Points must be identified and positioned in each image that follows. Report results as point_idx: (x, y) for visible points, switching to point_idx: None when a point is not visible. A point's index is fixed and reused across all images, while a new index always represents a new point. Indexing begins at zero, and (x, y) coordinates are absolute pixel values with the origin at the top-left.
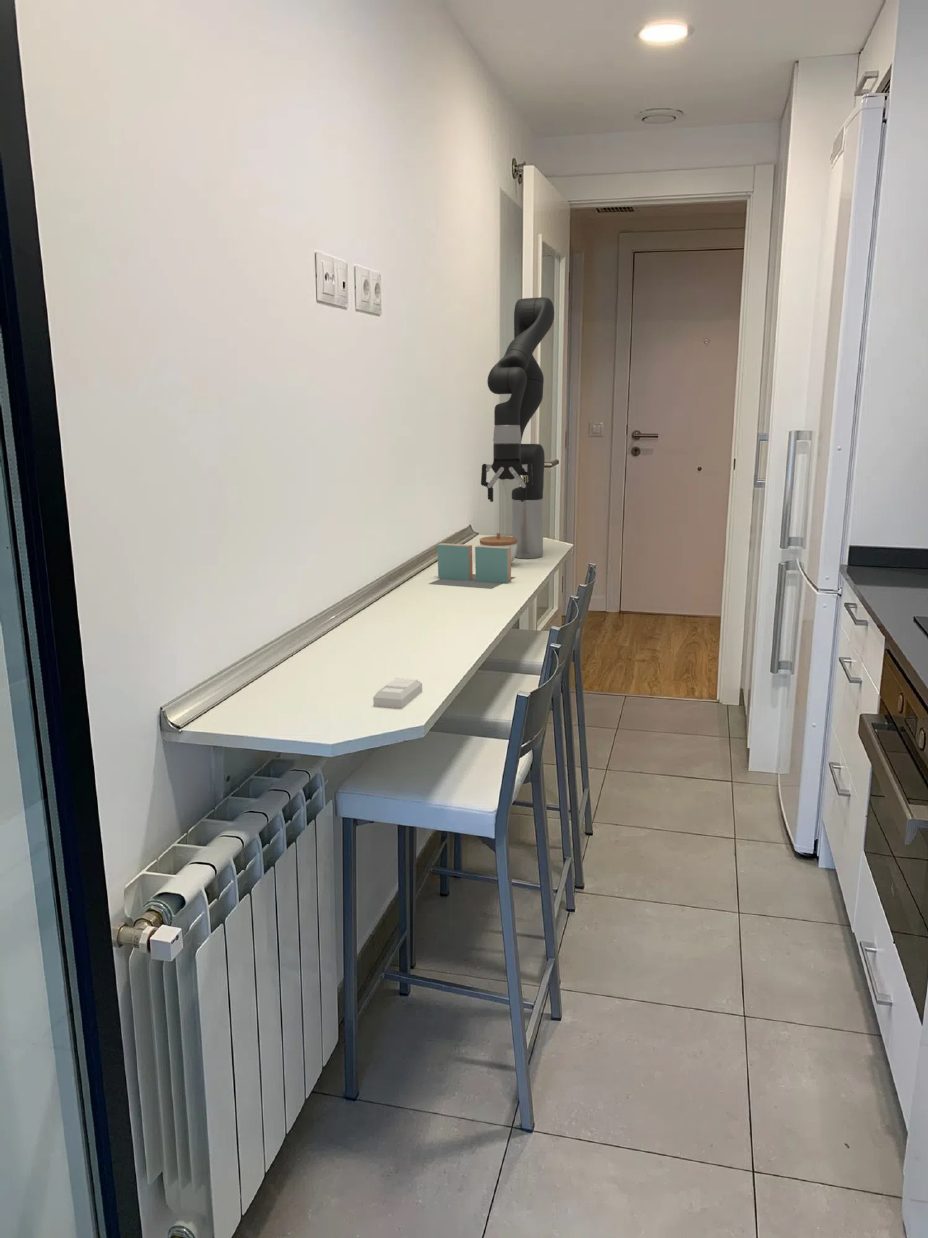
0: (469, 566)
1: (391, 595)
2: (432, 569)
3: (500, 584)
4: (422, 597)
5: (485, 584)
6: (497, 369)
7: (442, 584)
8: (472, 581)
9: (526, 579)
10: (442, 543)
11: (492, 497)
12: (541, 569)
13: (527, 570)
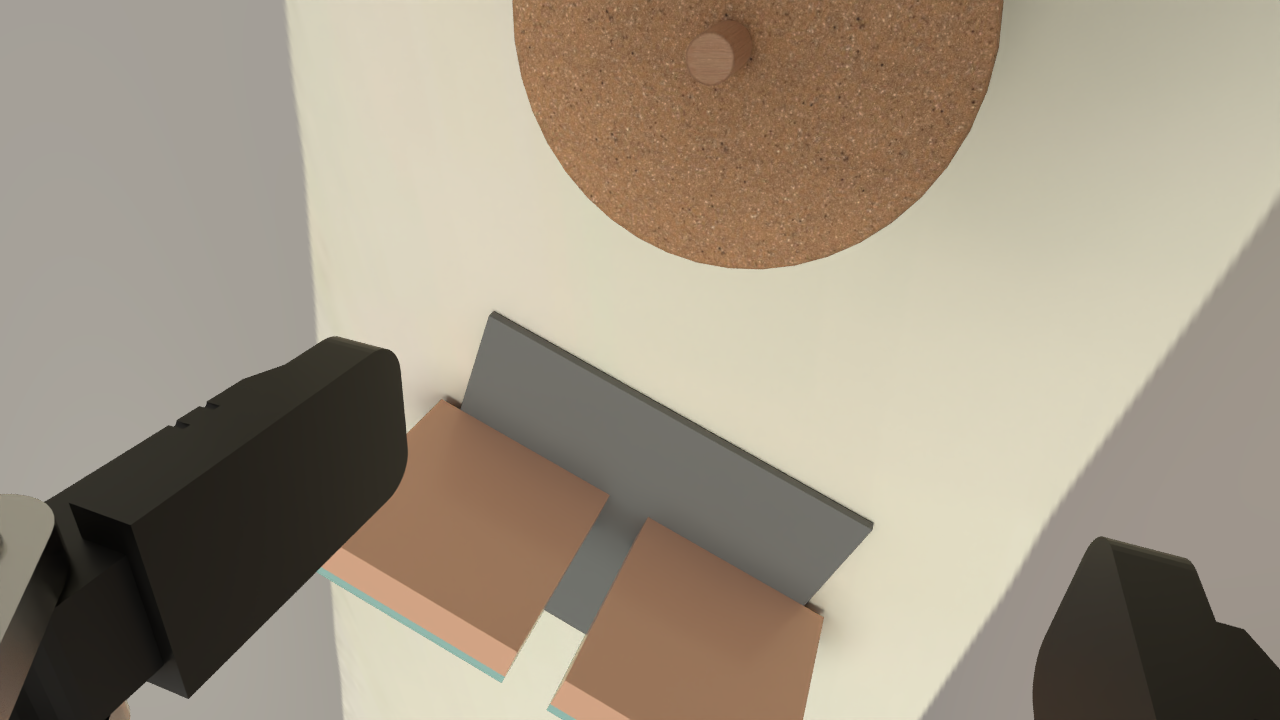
0: (565, 572)
1: (350, 634)
2: (320, 116)
3: None
4: (460, 695)
5: None
6: None
7: None
8: (614, 555)
9: (939, 559)
10: None
11: (353, 533)
12: (1184, 254)
13: (1028, 275)
